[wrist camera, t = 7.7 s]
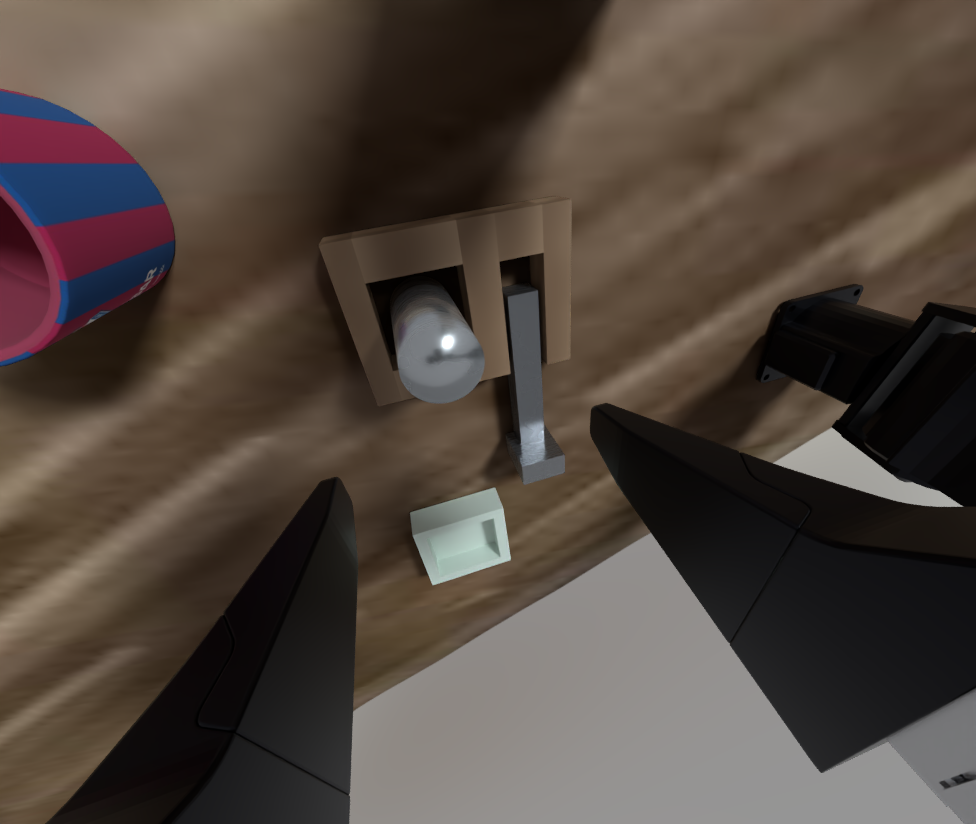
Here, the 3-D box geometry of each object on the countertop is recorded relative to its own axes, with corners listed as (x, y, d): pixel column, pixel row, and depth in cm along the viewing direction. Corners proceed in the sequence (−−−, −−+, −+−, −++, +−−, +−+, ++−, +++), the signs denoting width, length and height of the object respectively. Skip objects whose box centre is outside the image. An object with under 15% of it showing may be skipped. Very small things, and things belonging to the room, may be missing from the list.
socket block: (553, 195, 18) (571, 199, 16) (555, 345, 22) (570, 359, 21) (323, 237, 16) (318, 244, 15) (377, 388, 21) (377, 406, 19)
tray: (494, 487, 28) (502, 508, 26) (503, 539, 32) (510, 559, 30) (409, 512, 27) (412, 535, 25) (429, 562, 31) (432, 585, 29)
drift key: (537, 279, 20) (564, 298, 17) (544, 441, 26) (564, 472, 24) (487, 290, 19) (506, 310, 17) (507, 451, 26) (523, 484, 23)
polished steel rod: (445, 270, 18) (478, 315, 13) (456, 329, 20) (489, 392, 15) (381, 282, 18) (387, 336, 12) (398, 342, 20) (410, 412, 14)
